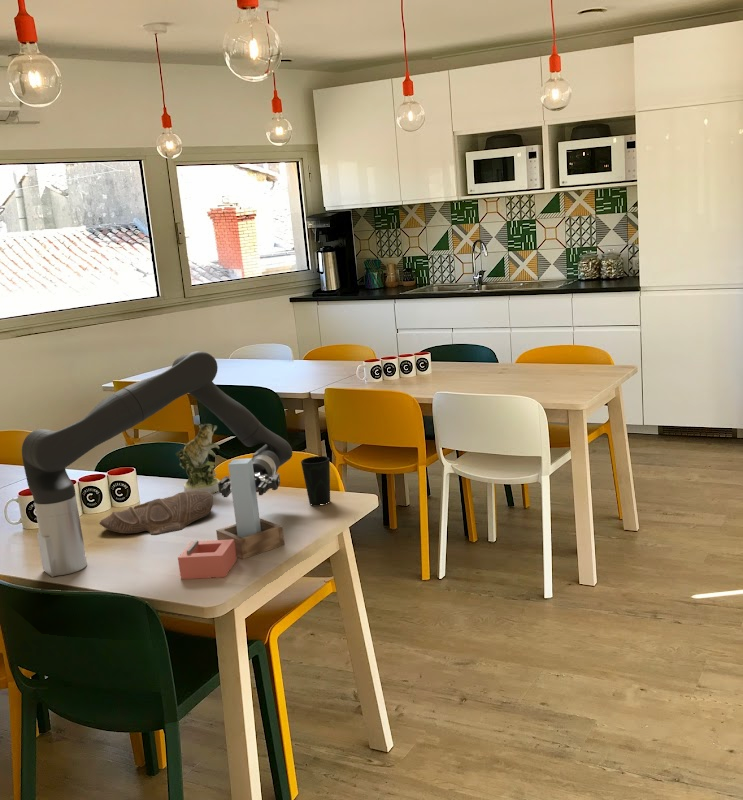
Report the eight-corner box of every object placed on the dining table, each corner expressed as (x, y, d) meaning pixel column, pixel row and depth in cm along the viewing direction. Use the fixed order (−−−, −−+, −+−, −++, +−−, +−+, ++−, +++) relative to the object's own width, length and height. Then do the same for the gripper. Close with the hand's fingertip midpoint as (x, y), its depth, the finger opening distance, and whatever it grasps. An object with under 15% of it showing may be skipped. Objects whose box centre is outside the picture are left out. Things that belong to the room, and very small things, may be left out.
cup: (303, 501, 248) (298, 459, 246) (329, 496, 250) (325, 454, 248) (309, 509, 241) (304, 465, 239) (337, 504, 243) (332, 460, 241)
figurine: (231, 489, 267) (222, 423, 263) (187, 500, 260) (177, 432, 256) (217, 481, 277) (209, 417, 273) (174, 491, 270) (165, 426, 266)
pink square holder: (225, 577, 199) (221, 552, 198) (180, 579, 200) (177, 554, 199) (236, 559, 209) (233, 535, 208) (194, 562, 210) (191, 538, 209)
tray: (242, 559, 209) (240, 540, 208) (218, 548, 218) (216, 530, 217) (284, 544, 216) (282, 526, 215) (259, 534, 225) (257, 517, 224)
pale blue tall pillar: (257, 545, 214) (247, 463, 210) (238, 546, 215) (228, 464, 211) (262, 538, 219) (252, 458, 215) (243, 539, 219) (233, 459, 215)
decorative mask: (92, 506, 247) (199, 475, 258) (98, 528, 249) (204, 497, 260) (103, 529, 226) (219, 494, 237) (110, 553, 228) (225, 518, 239)
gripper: (228, 460, 228) (210, 478, 212) (284, 456, 226) (270, 475, 211) (232, 488, 230) (214, 509, 214) (287, 485, 228) (273, 506, 212)
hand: (242, 492), depth 212 cm, fingers open, 8 cm apart
